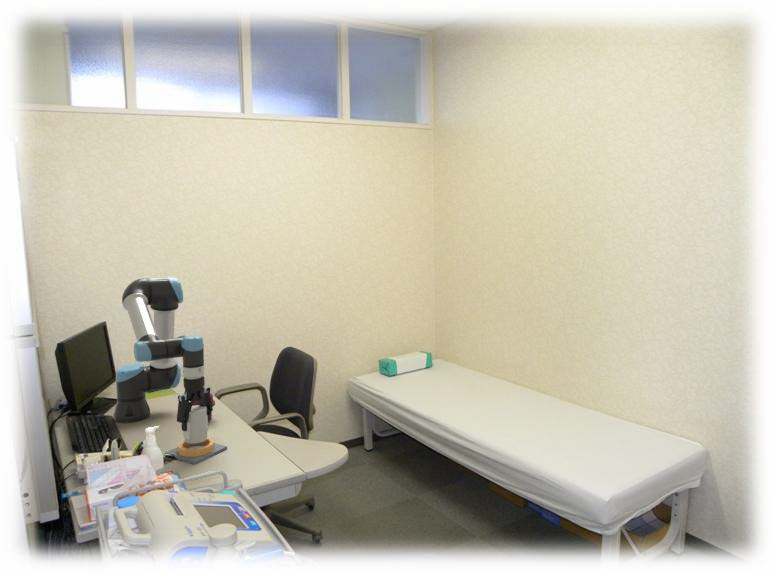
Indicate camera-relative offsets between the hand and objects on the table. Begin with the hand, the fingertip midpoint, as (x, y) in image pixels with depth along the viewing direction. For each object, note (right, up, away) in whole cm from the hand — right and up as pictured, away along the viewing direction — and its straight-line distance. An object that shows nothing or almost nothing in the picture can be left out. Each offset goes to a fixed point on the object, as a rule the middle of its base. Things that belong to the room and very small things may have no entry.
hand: (195, 434), depth 208 cm
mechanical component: (-9, -3, +35) cm, 36 cm away
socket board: (0, -7, +1) cm, 7 cm away
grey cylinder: (0, -2, 0) cm, 2 cm away
